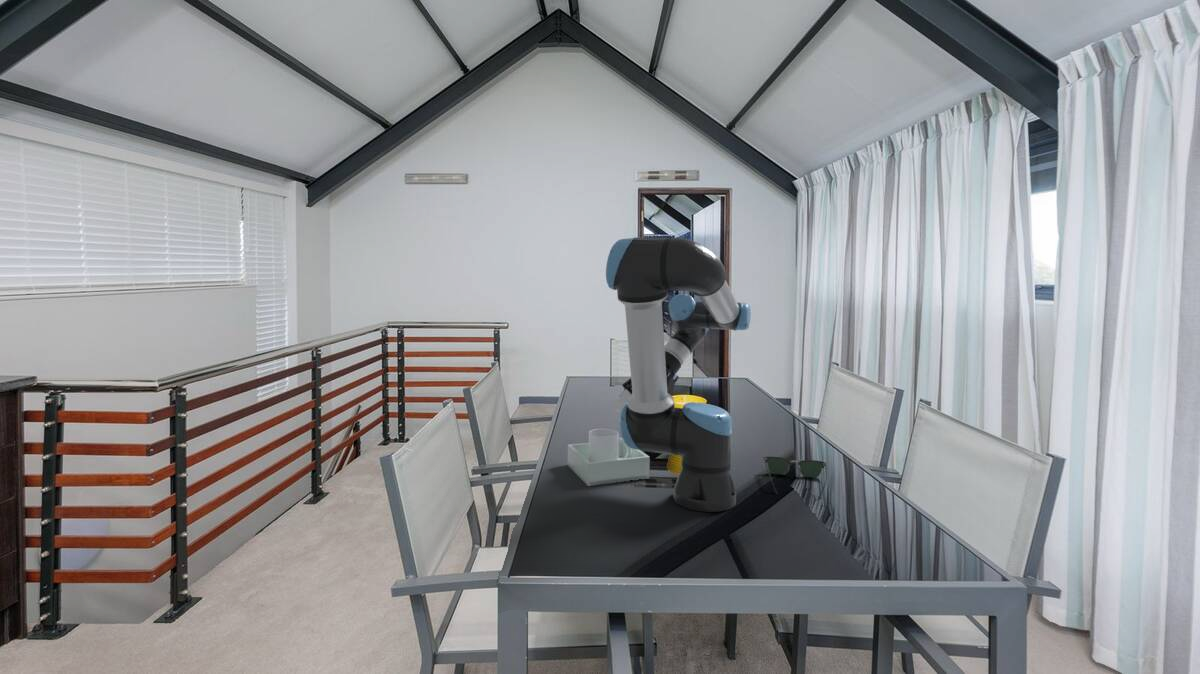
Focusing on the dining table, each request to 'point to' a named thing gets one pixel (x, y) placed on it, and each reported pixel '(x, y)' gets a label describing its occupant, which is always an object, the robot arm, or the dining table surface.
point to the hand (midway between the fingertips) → (628, 414)
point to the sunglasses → (806, 468)
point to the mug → (605, 445)
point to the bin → (608, 465)
